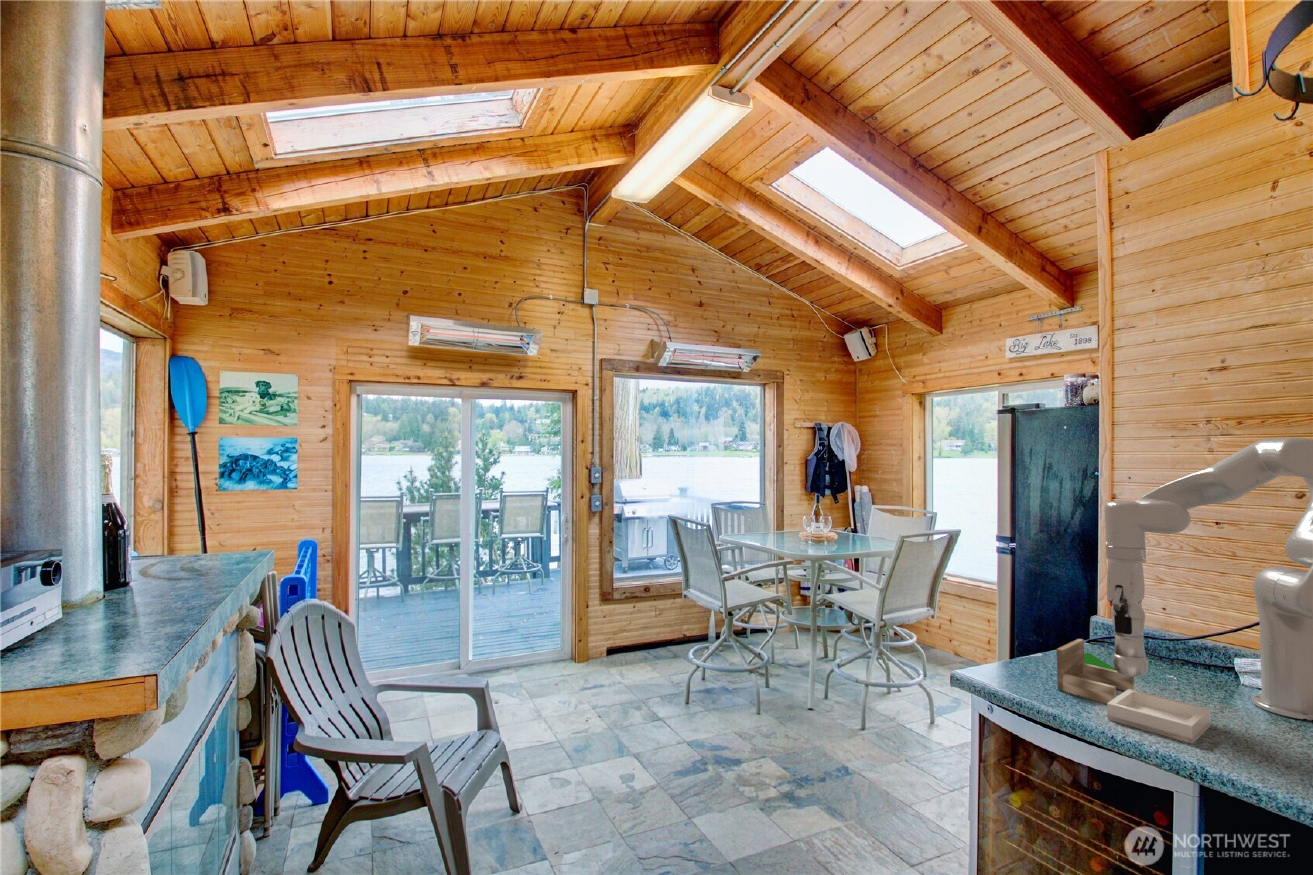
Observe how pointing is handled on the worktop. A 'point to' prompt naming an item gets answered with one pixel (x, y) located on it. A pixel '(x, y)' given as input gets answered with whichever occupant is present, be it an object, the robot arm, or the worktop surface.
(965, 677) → the worktop surface
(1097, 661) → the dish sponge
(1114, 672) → the bay
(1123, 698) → the tray
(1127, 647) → the plastic bottle
